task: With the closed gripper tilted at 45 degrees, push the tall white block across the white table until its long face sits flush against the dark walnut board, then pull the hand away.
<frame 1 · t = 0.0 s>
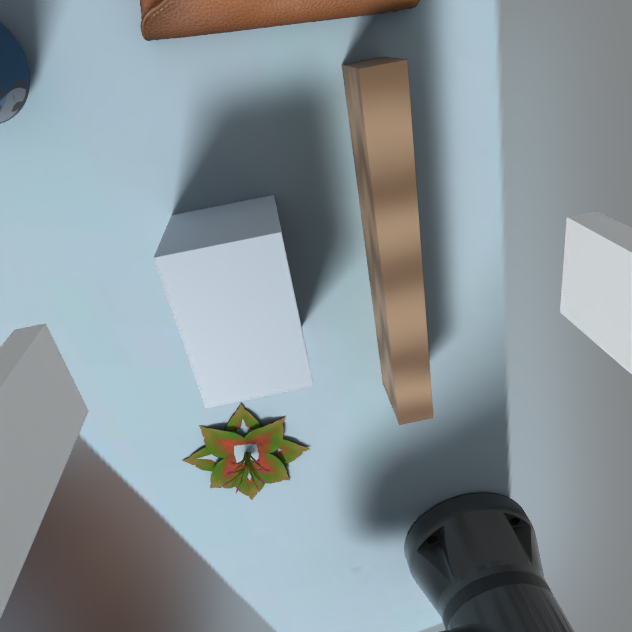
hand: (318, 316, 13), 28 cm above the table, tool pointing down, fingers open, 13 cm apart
lily flower: (246, 448, 52), on the table
white block: (241, 274, 43), on the table
walnut board: (383, 246, 43), on the table
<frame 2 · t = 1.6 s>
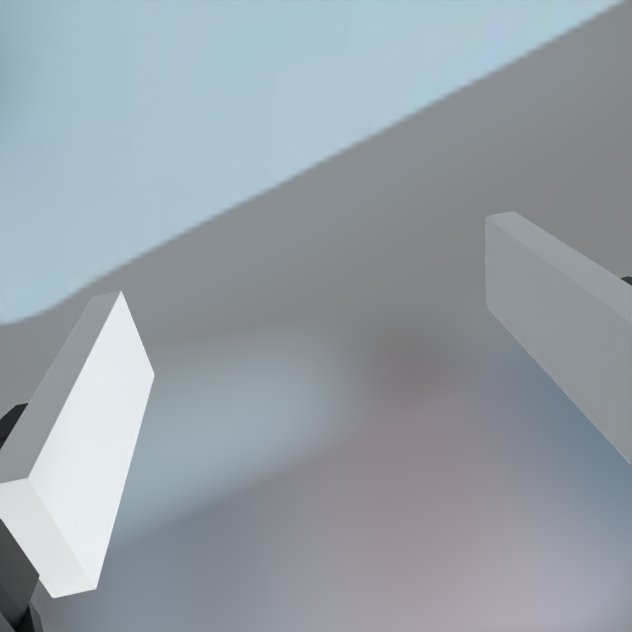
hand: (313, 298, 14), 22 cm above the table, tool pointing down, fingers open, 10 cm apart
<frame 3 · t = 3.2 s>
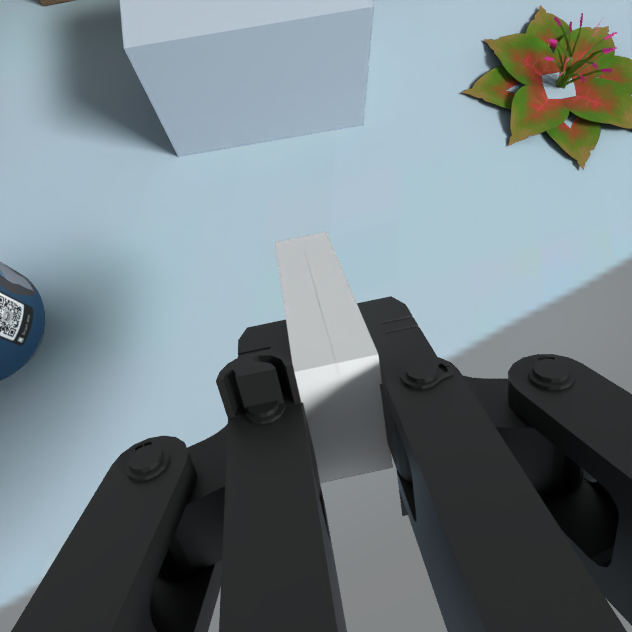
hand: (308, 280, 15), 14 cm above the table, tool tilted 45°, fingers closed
lily flower: (555, 92, 34), on the table
white block: (262, 90, 34), on the table
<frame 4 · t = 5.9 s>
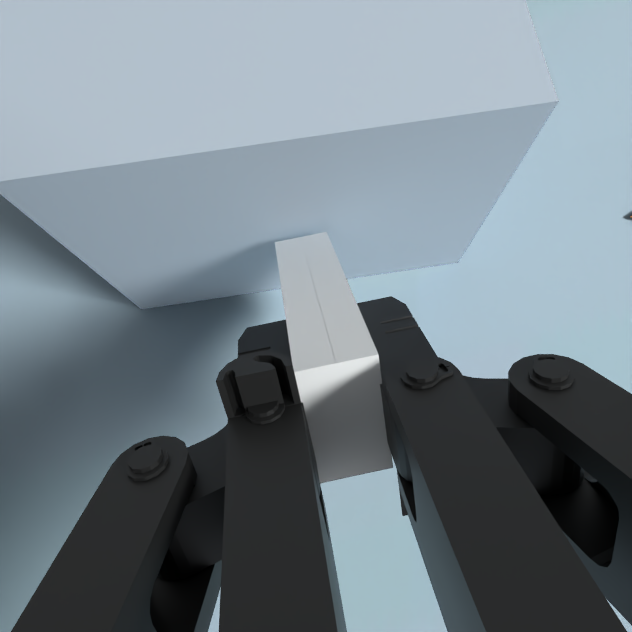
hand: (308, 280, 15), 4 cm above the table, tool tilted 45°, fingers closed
white block: (286, 192, 20), on the table, touching gripper
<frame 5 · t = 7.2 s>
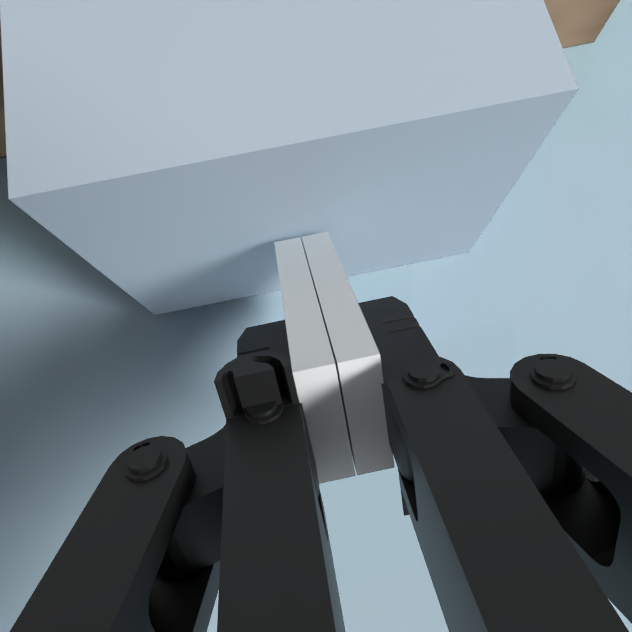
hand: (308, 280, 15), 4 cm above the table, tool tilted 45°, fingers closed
white block: (293, 189, 20), on the table, touching gripper, walnut board
walnut board: (261, 75, 22), on the table
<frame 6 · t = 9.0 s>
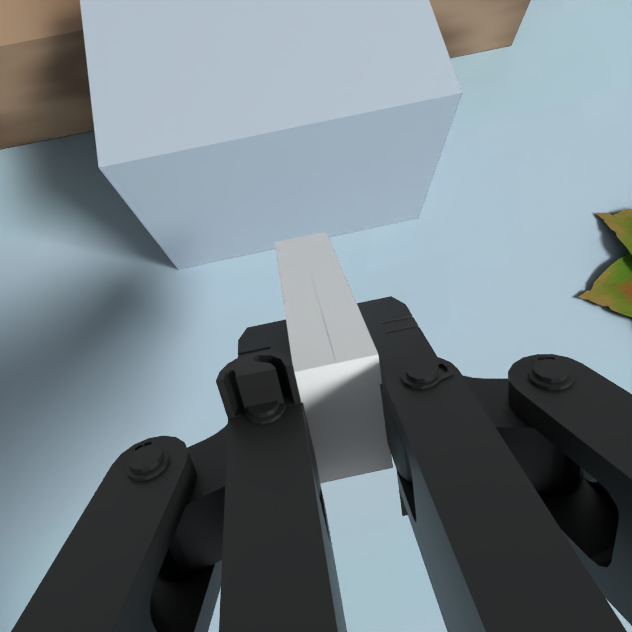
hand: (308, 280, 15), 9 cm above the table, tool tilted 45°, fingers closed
white block: (283, 174, 26), on the table
walnut board: (254, 74, 28), on the table
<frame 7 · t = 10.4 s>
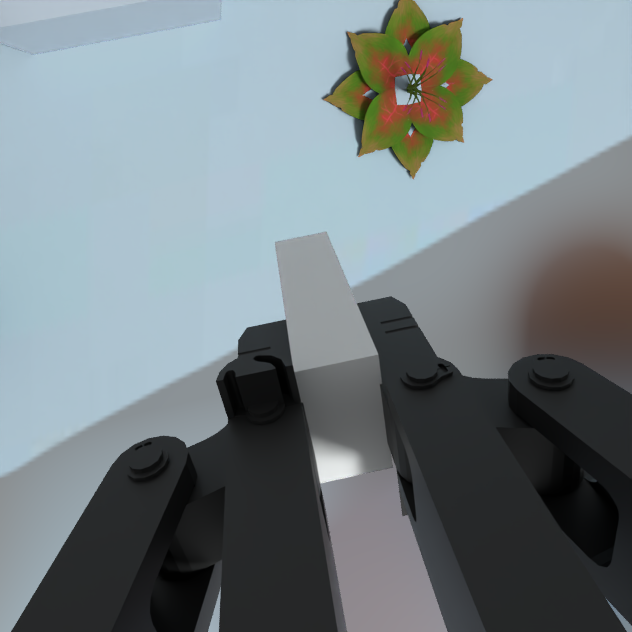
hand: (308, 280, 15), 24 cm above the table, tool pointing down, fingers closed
lily flower: (405, 90, 38), on the table
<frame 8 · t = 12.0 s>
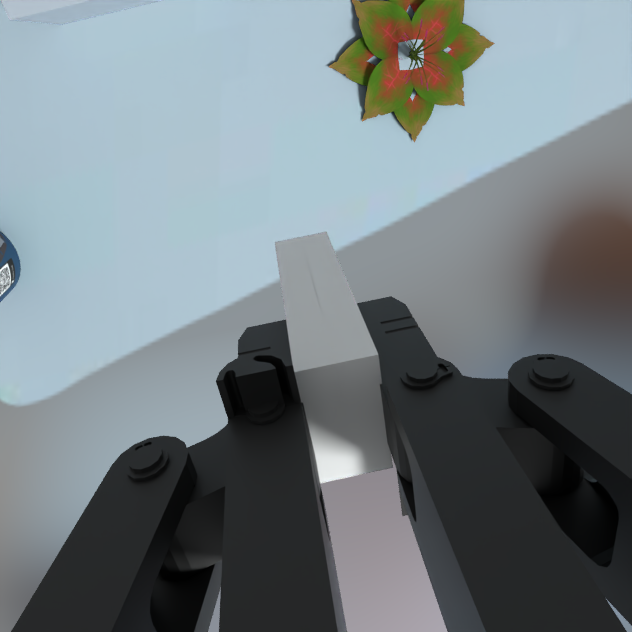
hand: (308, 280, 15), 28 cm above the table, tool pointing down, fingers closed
lily flower: (408, 54, 39), on the table
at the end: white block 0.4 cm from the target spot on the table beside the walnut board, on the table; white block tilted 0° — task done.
